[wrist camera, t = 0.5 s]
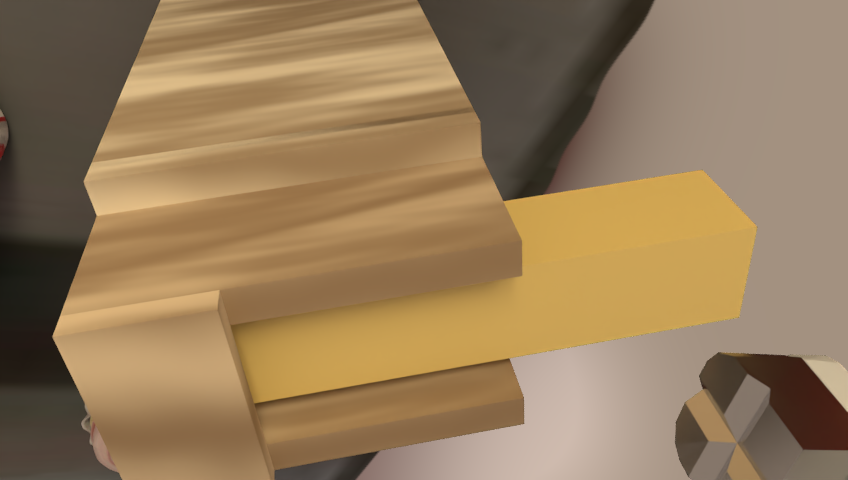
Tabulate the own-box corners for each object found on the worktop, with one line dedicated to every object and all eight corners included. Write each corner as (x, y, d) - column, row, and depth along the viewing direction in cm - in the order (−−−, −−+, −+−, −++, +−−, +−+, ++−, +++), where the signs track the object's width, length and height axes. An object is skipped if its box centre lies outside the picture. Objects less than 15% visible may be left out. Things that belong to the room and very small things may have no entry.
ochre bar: (128, 261, 30) (108, 335, 26) (702, 169, 32) (757, 226, 28) (160, 344, 33) (145, 422, 29) (689, 254, 35) (739, 317, 31)
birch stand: (167, -17, 50) (33, 298, 22) (393, -46, 51) (530, 219, 23) (212, 145, 56) (151, 539, 29) (410, 116, 58) (531, 467, 30)
